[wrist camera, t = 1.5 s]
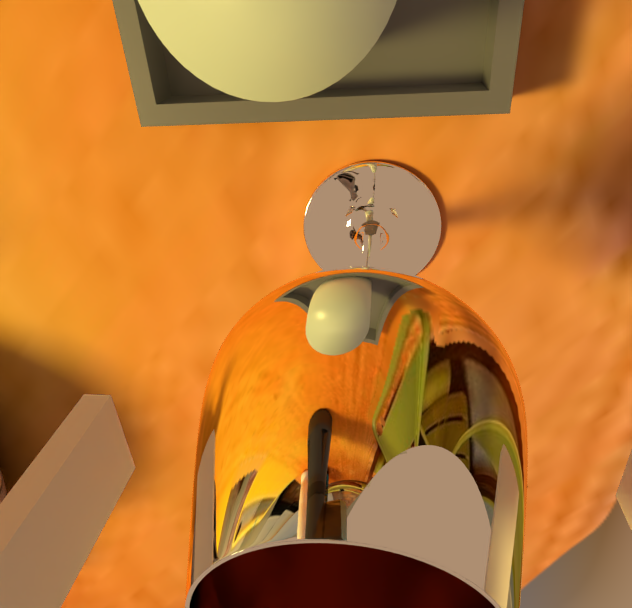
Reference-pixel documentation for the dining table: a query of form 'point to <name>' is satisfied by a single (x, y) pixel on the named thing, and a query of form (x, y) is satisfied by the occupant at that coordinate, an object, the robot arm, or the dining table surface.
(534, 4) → the dining table surface
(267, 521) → the wineglass
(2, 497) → the teapot
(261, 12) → the cream rounded cylinder
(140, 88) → the tray
